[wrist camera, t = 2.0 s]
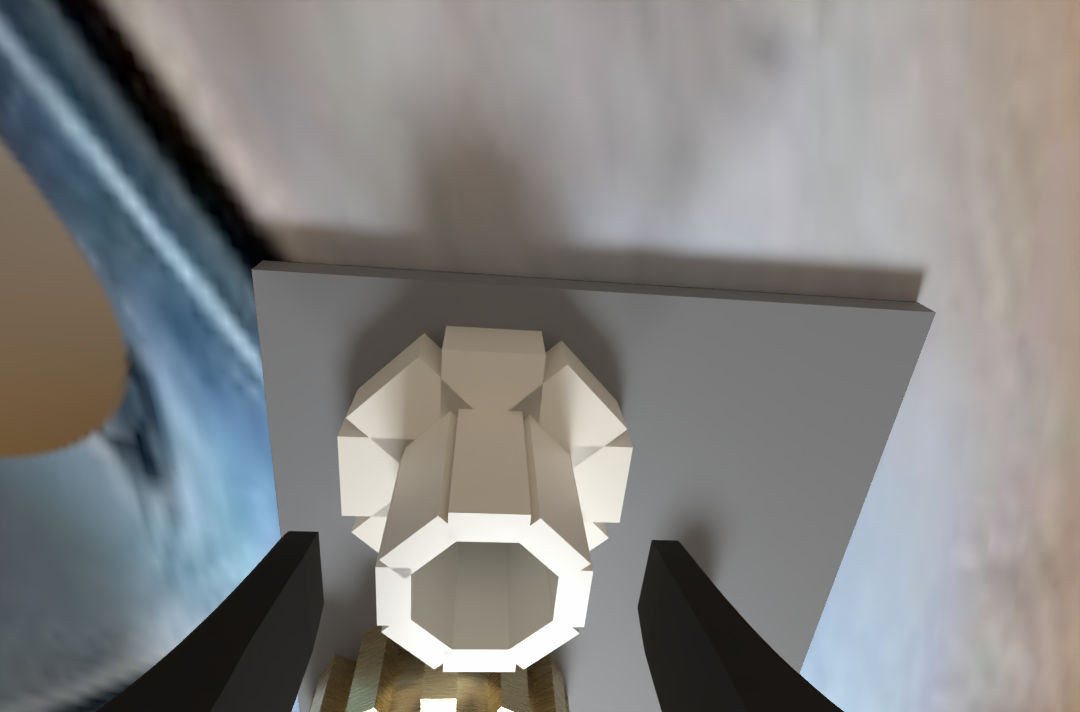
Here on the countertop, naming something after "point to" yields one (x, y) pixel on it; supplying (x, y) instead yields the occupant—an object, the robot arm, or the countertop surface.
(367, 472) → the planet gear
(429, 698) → the sun gear
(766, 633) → the carrier plate
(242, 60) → the countertop surface
